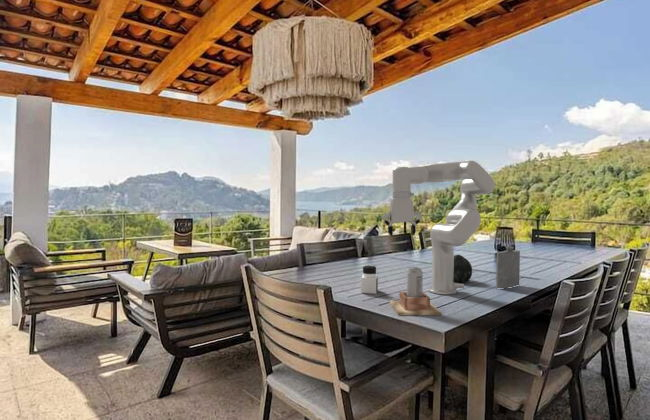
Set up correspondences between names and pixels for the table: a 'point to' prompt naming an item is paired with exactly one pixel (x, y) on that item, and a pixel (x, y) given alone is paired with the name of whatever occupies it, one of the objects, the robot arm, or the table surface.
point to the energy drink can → (414, 282)
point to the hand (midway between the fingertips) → (401, 235)
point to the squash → (461, 269)
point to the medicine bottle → (369, 280)
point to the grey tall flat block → (508, 268)
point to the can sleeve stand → (414, 305)
